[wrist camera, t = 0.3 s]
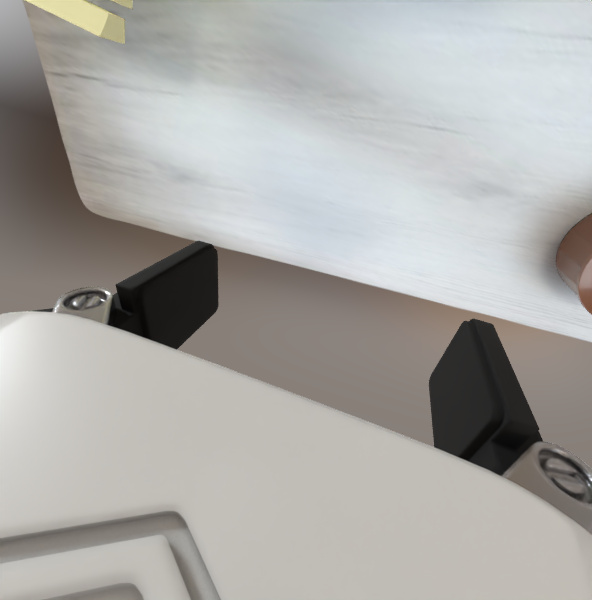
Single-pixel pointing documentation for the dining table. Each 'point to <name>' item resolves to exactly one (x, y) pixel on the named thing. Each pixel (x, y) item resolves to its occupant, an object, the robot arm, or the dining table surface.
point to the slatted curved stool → (88, 16)
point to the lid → (585, 284)
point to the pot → (574, 251)
